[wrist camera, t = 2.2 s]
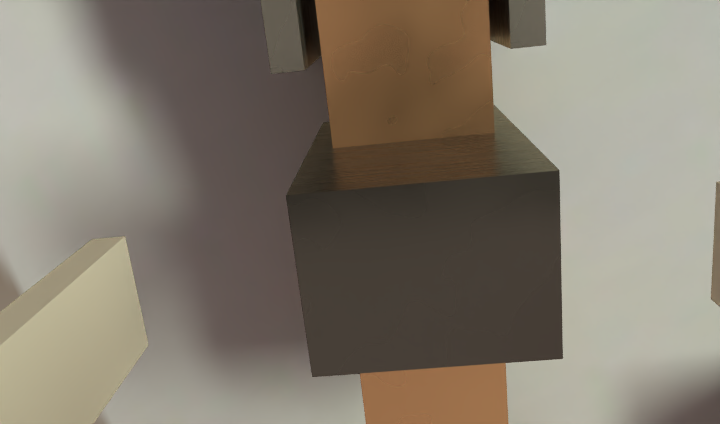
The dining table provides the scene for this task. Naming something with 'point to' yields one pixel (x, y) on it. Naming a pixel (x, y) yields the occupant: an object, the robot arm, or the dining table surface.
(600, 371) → the dining table surface
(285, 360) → the dining table surface
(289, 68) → the sleeve
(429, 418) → the tan wooden post
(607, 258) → the dining table surface
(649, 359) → the dining table surface
